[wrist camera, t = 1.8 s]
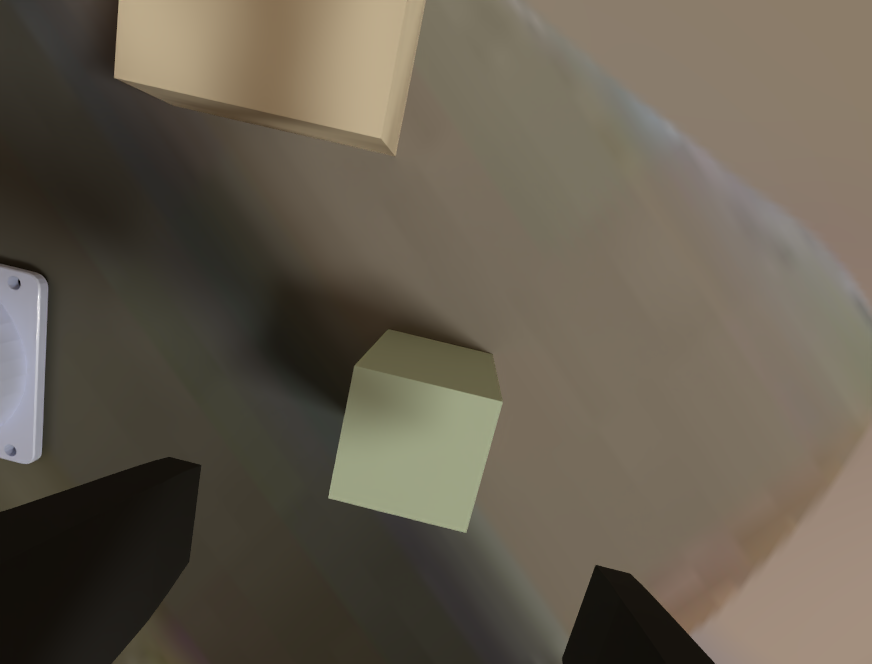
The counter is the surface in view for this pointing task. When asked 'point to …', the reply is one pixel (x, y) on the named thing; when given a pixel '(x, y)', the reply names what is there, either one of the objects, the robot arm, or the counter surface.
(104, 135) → the counter surface
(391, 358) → the sage block
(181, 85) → the birch base
